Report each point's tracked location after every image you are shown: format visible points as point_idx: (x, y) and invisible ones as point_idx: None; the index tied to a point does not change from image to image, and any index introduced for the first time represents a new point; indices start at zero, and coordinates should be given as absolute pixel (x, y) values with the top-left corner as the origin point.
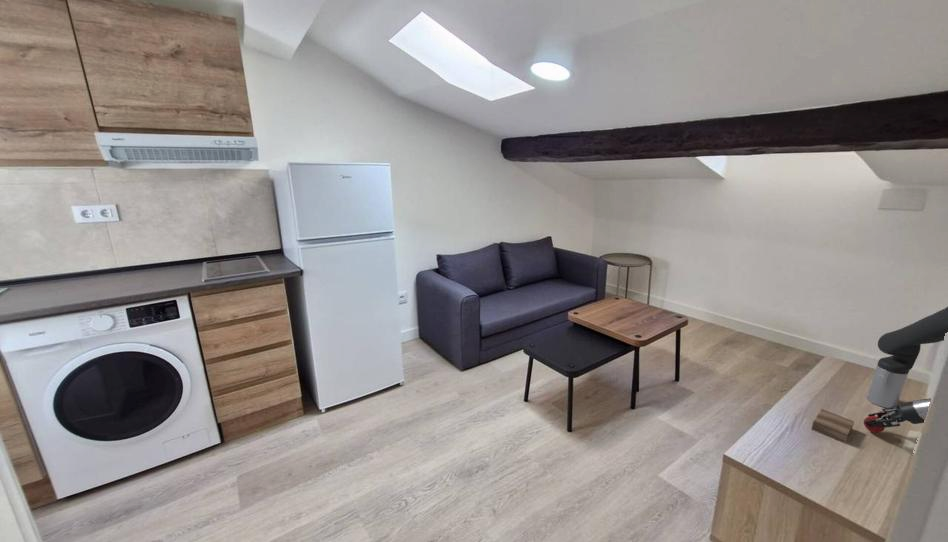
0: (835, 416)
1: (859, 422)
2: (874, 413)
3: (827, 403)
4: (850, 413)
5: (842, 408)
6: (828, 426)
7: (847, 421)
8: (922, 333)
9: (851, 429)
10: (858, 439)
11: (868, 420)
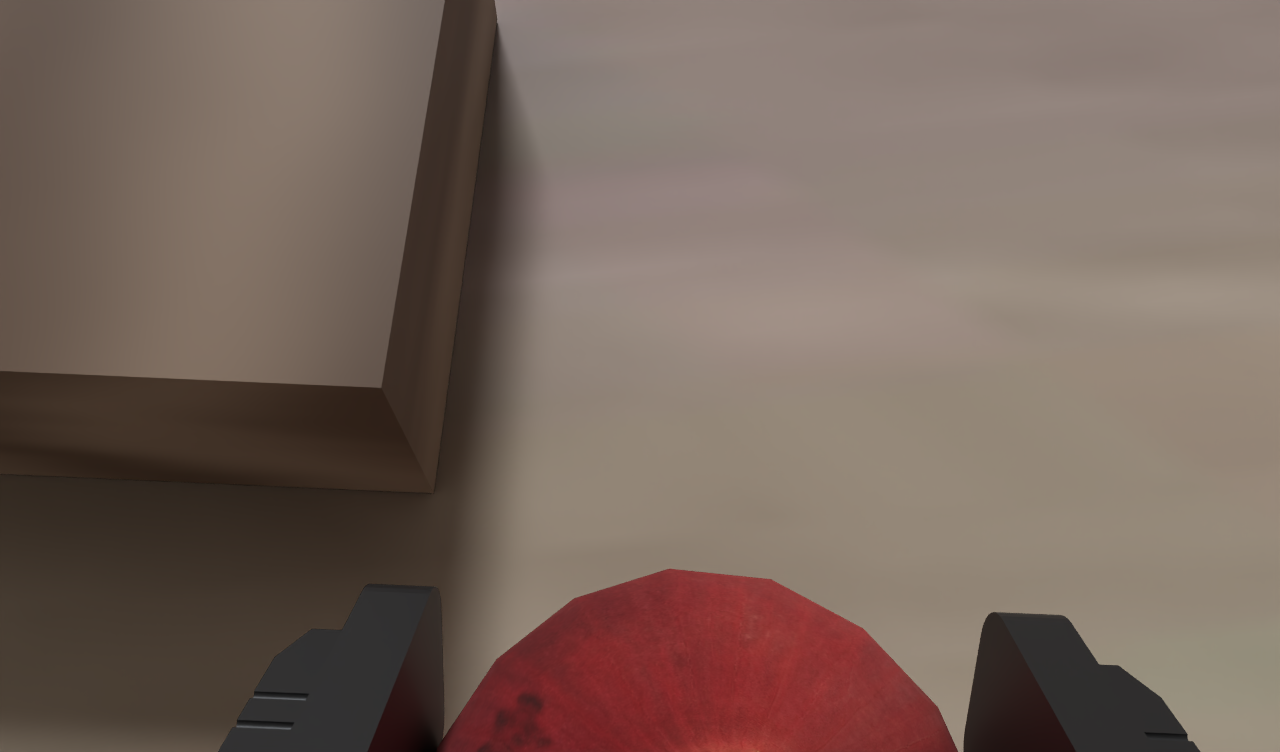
0: (314, 52)
1: (945, 579)
2: (1114, 739)
3: (1190, 40)
4: (1201, 386)
5: (1268, 247)
6: None
7: (243, 265)
8: None
9: (350, 475)
10: (60, 660)
11: (524, 652)
